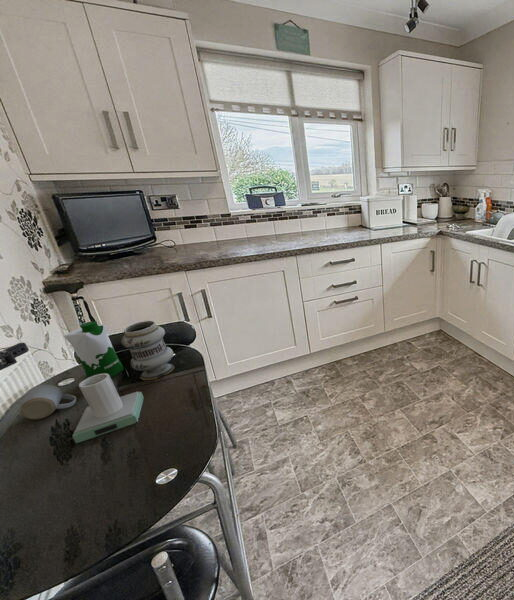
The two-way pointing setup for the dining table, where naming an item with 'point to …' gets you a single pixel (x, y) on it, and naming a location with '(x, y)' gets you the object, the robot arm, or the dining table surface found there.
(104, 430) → the kitchen scale
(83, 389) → the white cup
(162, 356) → the apothecary jar
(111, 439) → the dining table surface
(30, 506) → the dining table surface
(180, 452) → the dining table surface
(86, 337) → the milk carton
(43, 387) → the ceramic mug
